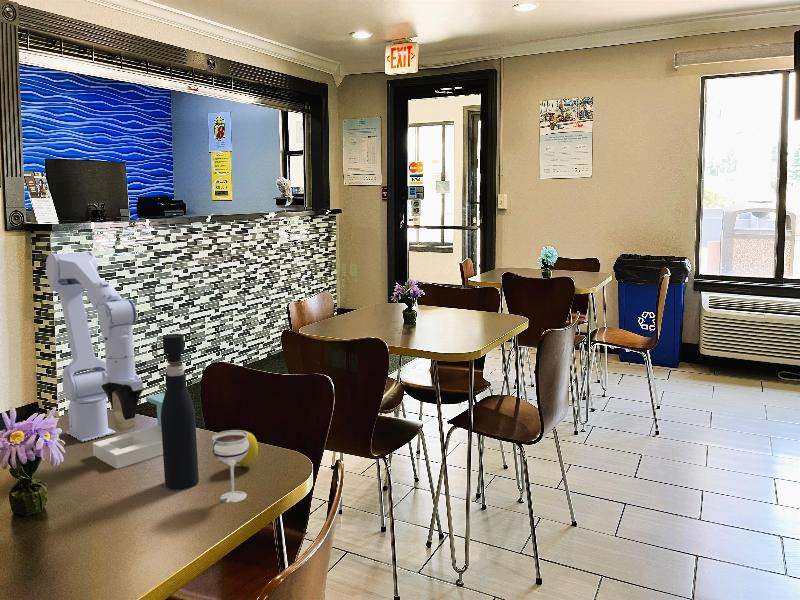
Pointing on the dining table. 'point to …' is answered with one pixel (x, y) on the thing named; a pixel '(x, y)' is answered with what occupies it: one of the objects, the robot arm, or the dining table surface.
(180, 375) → the wine bottle
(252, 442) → the lemon
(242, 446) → the wineglass
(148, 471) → the dining table surface
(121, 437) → the socket block
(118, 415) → the peg
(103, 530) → the dining table surface
